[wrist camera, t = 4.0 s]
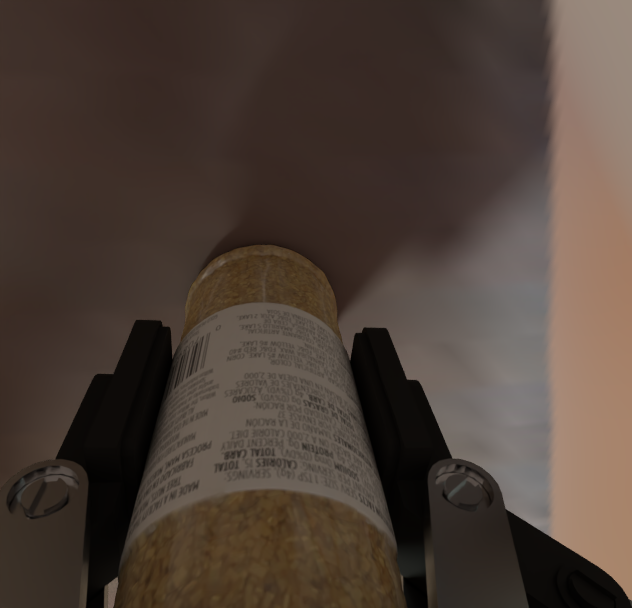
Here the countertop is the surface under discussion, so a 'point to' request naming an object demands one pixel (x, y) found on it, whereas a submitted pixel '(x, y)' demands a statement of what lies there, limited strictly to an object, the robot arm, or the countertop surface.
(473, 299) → the countertop surface
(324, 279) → the sprinkles bottle
